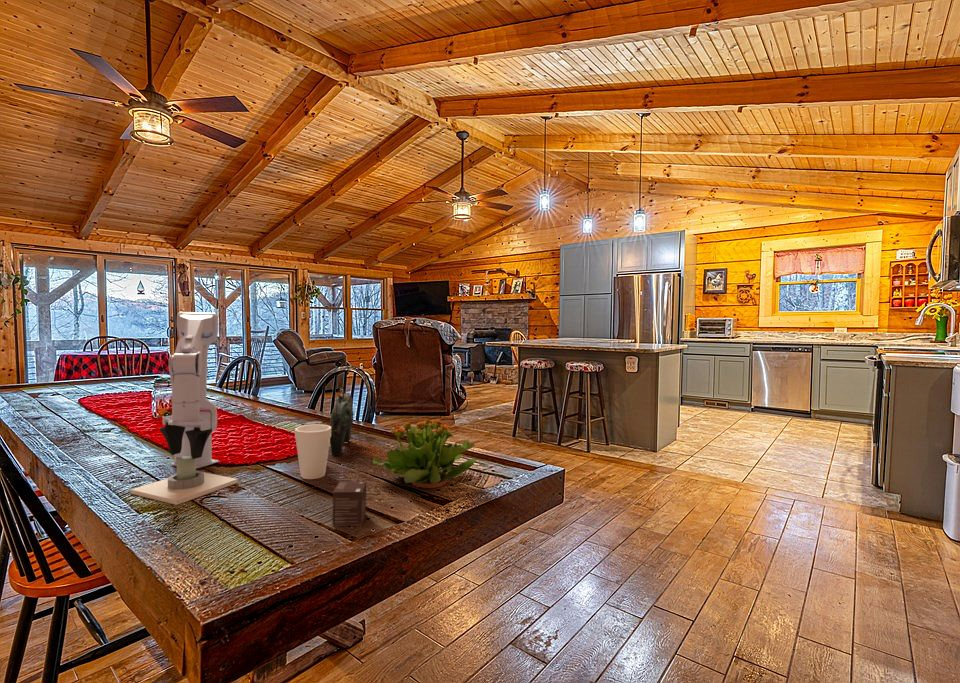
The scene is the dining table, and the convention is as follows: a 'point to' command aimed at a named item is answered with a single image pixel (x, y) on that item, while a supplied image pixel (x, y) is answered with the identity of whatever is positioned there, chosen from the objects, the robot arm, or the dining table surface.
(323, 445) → the foam cup
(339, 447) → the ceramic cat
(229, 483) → the socket plate
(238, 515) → the dining table surface
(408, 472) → the potted flower
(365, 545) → the dining table surface
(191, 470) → the grey rounded piece
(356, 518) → the box
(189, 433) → the robot arm
